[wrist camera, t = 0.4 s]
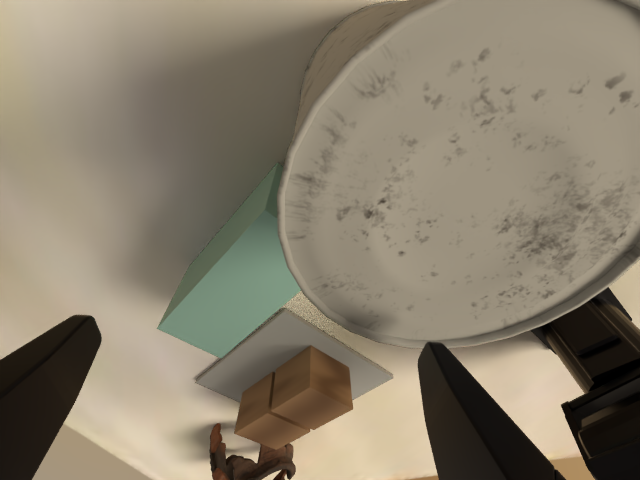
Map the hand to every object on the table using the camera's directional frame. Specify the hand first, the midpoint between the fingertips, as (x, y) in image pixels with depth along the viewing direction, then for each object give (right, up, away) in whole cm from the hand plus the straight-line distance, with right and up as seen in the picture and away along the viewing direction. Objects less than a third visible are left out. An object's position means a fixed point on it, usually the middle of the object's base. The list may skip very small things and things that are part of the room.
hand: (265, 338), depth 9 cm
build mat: (-1, -11, +24) cm, 26 cm away
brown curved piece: (-7, -22, +31) cm, 39 cm away
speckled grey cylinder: (+5, +10, +9) cm, 15 cm away
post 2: (+1, -10, +22) cm, 24 cm away
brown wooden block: (-3, -13, +24) cm, 28 cm away
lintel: (-3, +3, +14) cm, 15 cm away
